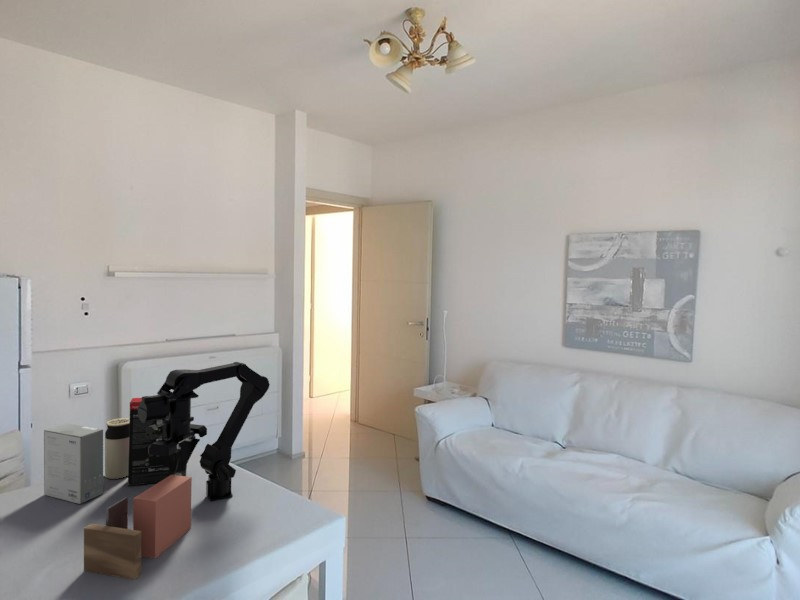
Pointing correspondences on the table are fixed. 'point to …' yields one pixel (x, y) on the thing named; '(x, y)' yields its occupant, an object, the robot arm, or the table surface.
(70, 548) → the table surface
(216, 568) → the table surface
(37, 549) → the table surface
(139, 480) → the graphics card box
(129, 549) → the shelf wall
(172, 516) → the book box
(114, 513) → the bookend
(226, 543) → the table surface
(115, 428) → the travel mug
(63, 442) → the hard drive box
